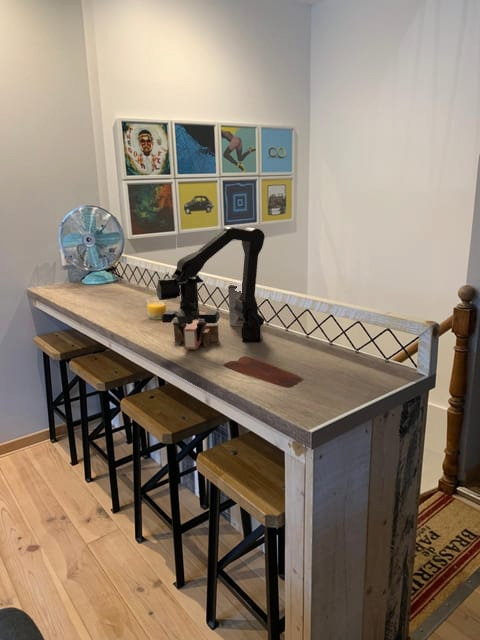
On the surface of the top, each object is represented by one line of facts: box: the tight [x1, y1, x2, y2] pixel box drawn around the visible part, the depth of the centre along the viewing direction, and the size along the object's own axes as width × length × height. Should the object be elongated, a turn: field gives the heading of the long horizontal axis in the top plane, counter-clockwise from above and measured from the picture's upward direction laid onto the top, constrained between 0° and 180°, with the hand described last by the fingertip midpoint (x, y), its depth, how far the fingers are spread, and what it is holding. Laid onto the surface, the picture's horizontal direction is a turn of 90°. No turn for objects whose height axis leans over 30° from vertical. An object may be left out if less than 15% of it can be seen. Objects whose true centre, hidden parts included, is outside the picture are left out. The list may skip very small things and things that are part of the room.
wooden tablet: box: [223, 355, 305, 388], centre depth 147 cm, size 27×10×2 cm, turn 44°
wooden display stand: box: [173, 323, 220, 347], centre depth 174 cm, size 16×6×6 cm, turn 81°
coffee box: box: [227, 284, 244, 327], centre depth 195 cm, size 9×6×16 cm
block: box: [184, 320, 204, 350], centre depth 169 cm, size 4×10×7 cm, turn 171°
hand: (192, 341), depth 167 cm, fingers closed on block, 4 cm apart
